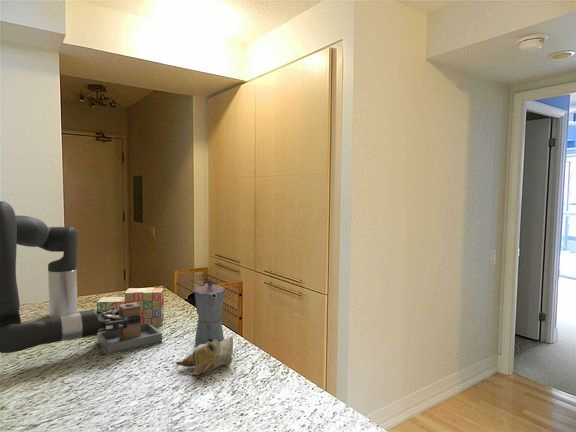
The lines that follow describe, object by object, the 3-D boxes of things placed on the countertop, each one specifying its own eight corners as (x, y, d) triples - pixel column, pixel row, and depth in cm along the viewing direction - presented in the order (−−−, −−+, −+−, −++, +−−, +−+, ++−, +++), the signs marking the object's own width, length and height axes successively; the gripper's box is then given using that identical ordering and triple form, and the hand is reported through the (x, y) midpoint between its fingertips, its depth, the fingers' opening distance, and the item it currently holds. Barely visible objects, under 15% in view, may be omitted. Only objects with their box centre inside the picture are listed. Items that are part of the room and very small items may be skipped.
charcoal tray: (97, 342, 121) (97, 332, 121) (148, 331, 131) (148, 322, 131) (107, 355, 112) (107, 345, 112) (162, 342, 122) (162, 333, 122)
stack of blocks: (96, 328, 133) (96, 293, 132) (102, 322, 139) (101, 288, 139) (161, 326, 137) (161, 291, 136) (164, 320, 143) (163, 287, 142)
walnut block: (119, 339, 122) (118, 304, 121) (135, 335, 125) (135, 301, 124) (123, 344, 118) (123, 308, 117) (140, 340, 121) (140, 305, 120)
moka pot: (199, 353, 114) (200, 287, 113) (187, 335, 128) (187, 276, 127) (230, 348, 119) (231, 283, 117) (215, 331, 132) (216, 273, 131)
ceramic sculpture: (242, 337, 105) (191, 354, 95) (243, 367, 106) (193, 388, 96) (222, 326, 113) (173, 341, 104) (223, 354, 114) (175, 372, 105)
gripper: (83, 319, 106) (143, 308, 117) (73, 306, 118) (128, 297, 128) (83, 345, 107) (143, 333, 117) (73, 330, 118) (129, 320, 128)
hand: (135, 314), depth 122 cm, fingers open, 8 cm apart
